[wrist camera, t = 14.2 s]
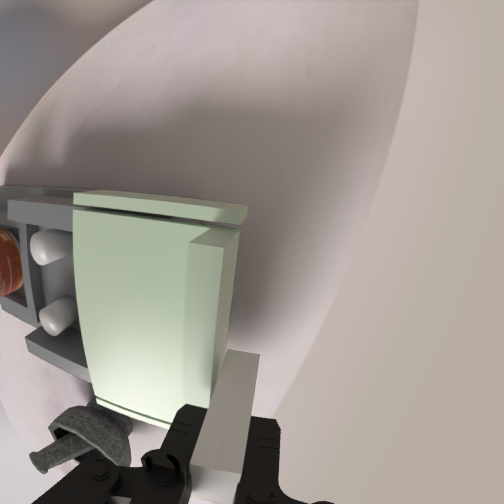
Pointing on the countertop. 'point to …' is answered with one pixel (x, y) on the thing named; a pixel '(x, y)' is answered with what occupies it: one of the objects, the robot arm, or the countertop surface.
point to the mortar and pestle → (86, 437)
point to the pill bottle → (9, 263)
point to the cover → (154, 299)
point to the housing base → (49, 270)
